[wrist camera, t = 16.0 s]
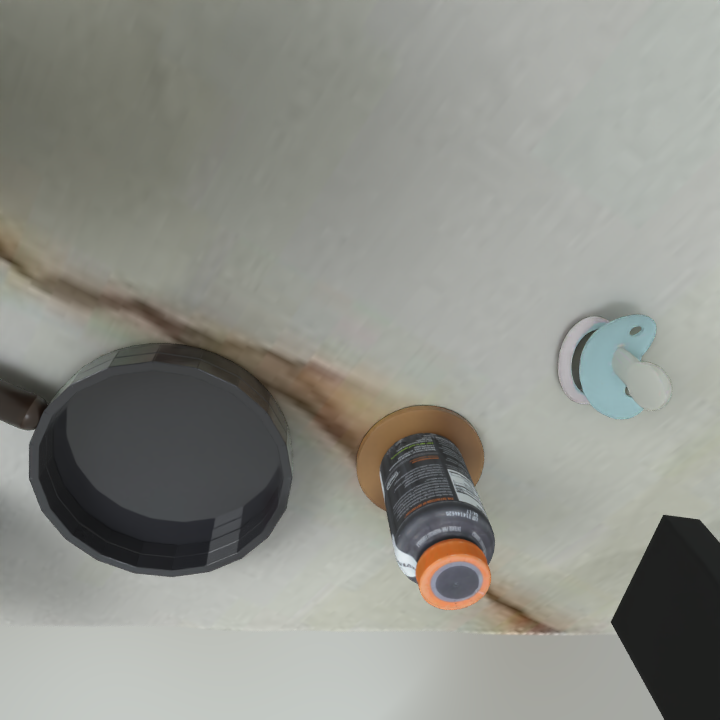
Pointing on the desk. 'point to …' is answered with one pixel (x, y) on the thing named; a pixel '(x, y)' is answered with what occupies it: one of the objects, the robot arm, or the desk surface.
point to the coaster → (409, 424)
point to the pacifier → (614, 367)
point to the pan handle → (20, 406)
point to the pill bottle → (437, 520)
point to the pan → (162, 460)
